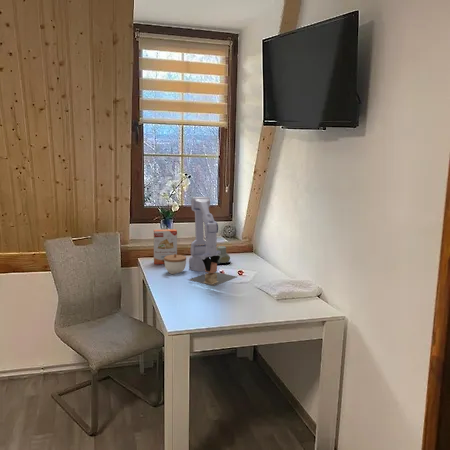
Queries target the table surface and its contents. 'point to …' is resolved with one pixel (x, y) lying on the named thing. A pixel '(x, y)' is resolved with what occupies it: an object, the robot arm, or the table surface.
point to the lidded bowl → (175, 263)
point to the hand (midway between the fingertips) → (210, 270)
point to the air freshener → (223, 255)
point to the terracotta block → (212, 268)
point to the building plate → (220, 279)
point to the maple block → (211, 277)
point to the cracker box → (164, 244)
